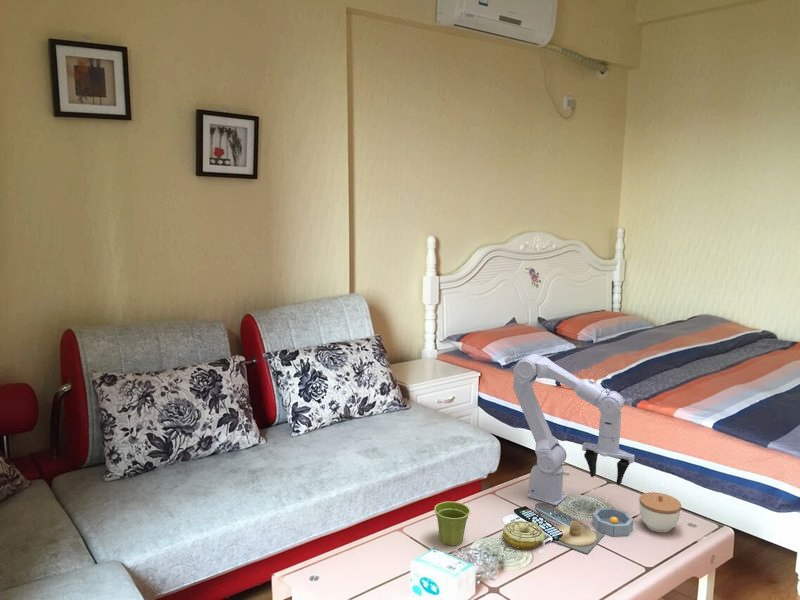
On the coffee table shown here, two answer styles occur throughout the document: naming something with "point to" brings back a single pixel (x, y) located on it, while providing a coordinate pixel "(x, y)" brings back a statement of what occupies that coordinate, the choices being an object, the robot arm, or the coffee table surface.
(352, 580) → the coffee table surface
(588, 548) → the mat
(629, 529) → the bowl
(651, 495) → the lidded jar
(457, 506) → the plant pot
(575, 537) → the lid
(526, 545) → the decorated donut
